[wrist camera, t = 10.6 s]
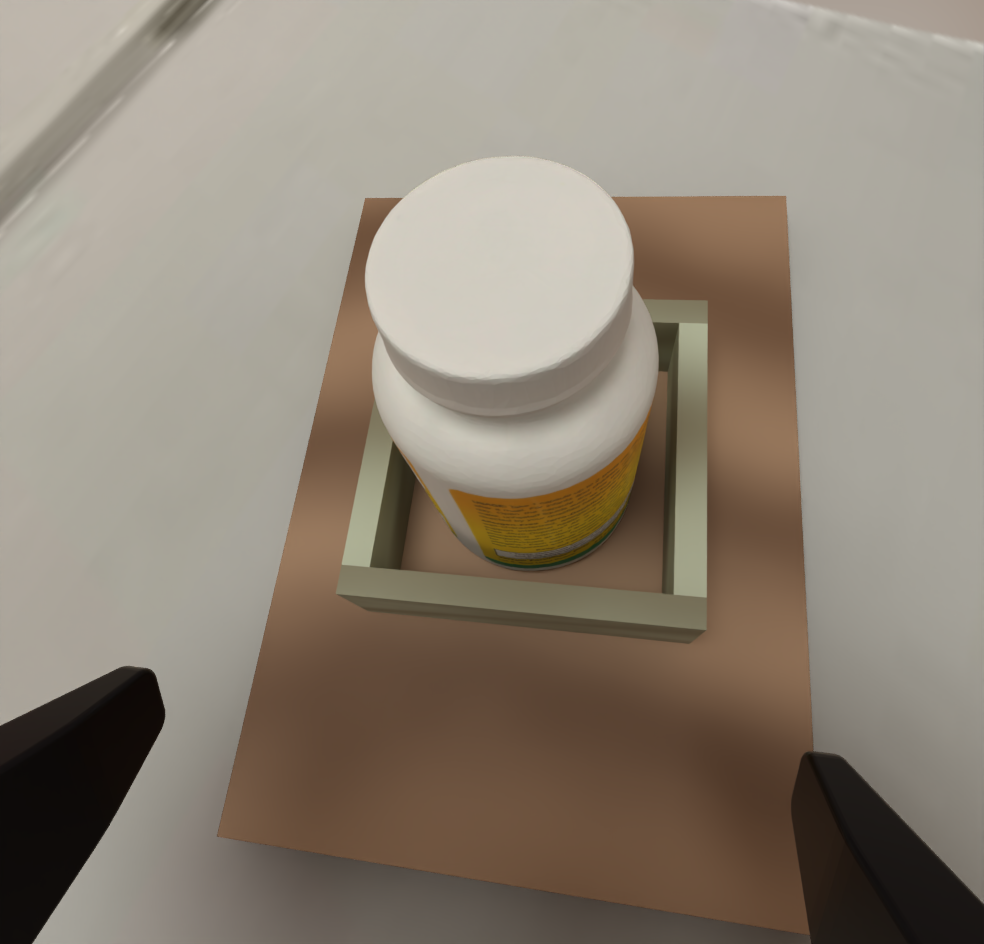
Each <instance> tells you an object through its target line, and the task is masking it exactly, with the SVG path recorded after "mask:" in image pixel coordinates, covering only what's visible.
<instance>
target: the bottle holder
mask: <svg viewBox="0 0 984 944" xmlns="http://www.w3.org/2000/svg"><path fill="white" fill-rule="evenodd" d="M611 198H612V199H613V200H614V202H615V203H616V204H617V206H618V207H619V209H620V211H621V213H622V215H623V216H624V219H625V221H626V223H627V225H628V227H629V230H630V234H631V239H632V244H633V249H634V274H633V286H634V288H635V289H636V290H637V292H638V293H639V295H640V297H641V298H642V300H643V302H644V304H645V306H646V307H647V310H648V312H649V314H650V316H651V319H652V323H653V326H654V329H655V333H656V337H657V345H658V354H659V368H658V378H657V385H656V390H655V395H654V399H653V403H652V407H651V411H650V415H649V419H648V423H647V427H646V432H645V436H644V441H643V445H642V449H641V453H640V458H639V462H638V466H637V470H636V474H635V479H634V483H633V486H632V490H631V494H630V498H629V501H628V504H627V507H626V510H625V512H624V515H623V517H622V519H621V521H620V522H619V524H618V525H617V527H616V528H615V530H614V531H613V533H612V534H611V535H610V537H609V538H608V539H607V540H606V541H605V542H604V543H603V544H602V545H601V546H599V547H598V548H597V549H596V550H595V551H593V552H592V553H590V554H589V555H587V556H586V557H584V558H582V559H580V560H578V561H576V562H573V563H571V564H569V565H565V566H562V567H558V568H553V569H549V570H536V571H522V570H512V569H508V568H504V567H500V566H498V565H495V564H493V563H491V562H488V561H486V560H484V559H482V558H480V557H479V556H477V555H476V554H474V553H473V552H471V551H470V550H469V549H468V548H467V547H465V546H464V545H463V544H462V543H461V542H460V541H459V540H458V539H457V537H456V536H455V535H454V534H453V533H452V531H451V530H450V529H449V527H448V526H447V524H446V523H445V521H444V520H443V518H442V516H441V515H440V513H439V512H438V510H437V509H436V507H435V505H434V504H433V502H432V500H431V499H430V497H429V496H428V494H427V493H426V491H425V489H424V488H423V486H422V485H421V483H420V482H419V480H418V479H417V477H416V476H415V474H414V472H413V471H412V469H411V468H410V466H409V465H408V463H407V462H406V460H405V459H404V457H403V456H402V454H401V453H400V451H399V449H398V448H397V446H396V445H395V443H394V441H393V440H392V438H391V436H390V434H389V432H388V430H387V429H386V427H385V425H384V423H383V421H382V419H381V416H380V413H379V411H378V408H377V404H376V401H375V396H374V391H373V384H372V358H373V350H374V345H375V341H376V337H377V334H378V329H377V327H376V325H375V323H374V321H373V319H372V316H371V312H370V309H369V306H368V301H367V295H366V289H365V269H366V263H367V259H368V255H369V251H370V248H371V245H372V242H373V239H374V237H375V235H376V233H377V231H378V230H379V228H380V226H381V225H382V223H383V221H384V220H385V218H386V217H387V215H388V214H389V213H390V211H391V210H392V209H393V208H394V207H395V206H396V205H397V204H398V203H399V202H400V201H401V200H402V199H403V198H365V202H364V206H363V211H362V215H361V219H360V223H359V228H358V232H357V236H356V241H355V245H354V249H353V254H352V258H351V262H350V266H349V271H348V275H347V279H346V284H345V288H344V292H343V297H342V301H341V305H340V309H339V314H338V318H337V322H336V327H335V331H334V335H333V340H332V344H331V348H330V352H329V357H328V361H327V365H326V370H325V374H324V378H323V383H322V387H321V391H320V395H319V400H318V404H317V408H316V413H315V417H314V421H313V426H312V430H311V434H310V438H309V443H308V447H307V451H306V456H305V460H304V464H303V469H302V473H301V477H300V481H299V486H298V490H297V494H296V499H295V503H294V507H293V512H292V516H291V520H290V524H289V529H288V533H287V537H286V542H285V546H284V550H283V555H282V559H281V563H280V567H279V572H278V576H277V580H276V585H275V589H274V593H273V598H272V602H271V606H270V610H269V615H268V619H267V623H266V628H265V632H264V636H263V641H262V645H261V649H260V653H259V658H258V662H257V666H256V671H255V675H254V679H253V684H252V688H251V692H250V696H249V701H248V705H247V709H246V714H245V718H244V722H243V727H242V731H241V735H240V739H239V744H238V748H237V752H236V757H235V761H234V765H233V770H232V774H231V778H230V782H229V787H228V791H227V795H226V800H225V804H224V808H223V813H222V817H221V821H220V826H219V830H218V834H217V837H223V838H229V839H235V840H241V841H247V842H253V843H259V844H265V845H271V846H277V847H283V848H289V849H295V850H301V851H307V852H313V853H319V854H325V855H331V856H337V857H343V858H349V859H355V860H361V861H367V862H373V863H379V864H385V865H391V866H397V867H403V868H409V869H415V870H421V871H427V872H433V873H439V874H445V875H451V876H457V877H463V878H469V879H475V880H481V881H487V882H493V883H499V884H505V885H511V886H517V887H523V888H529V889H535V890H541V891H547V892H553V893H559V894H565V895H571V896H577V897H583V898H589V899H595V900H601V901H607V902H613V903H619V904H625V905H631V906H637V907H643V908H649V909H655V910H661V911H667V912H673V913H679V914H685V915H691V916H697V917H703V918H709V919H715V920H721V921H727V922H733V923H739V924H745V925H751V926H757V927H763V928H769V929H775V930H781V931H787V932H793V933H799V934H805V935H810V932H809V926H808V920H807V914H806V907H805V901H804V894H803V888H802V881H801V875H800V869H799V862H798V856H797V849H796V843H795V836H794V830H793V824H792V817H791V798H792V793H793V789H794V785H795V781H796V777H797V773H798V769H799V765H800V761H801V757H802V756H803V754H804V753H805V752H808V751H813V733H812V713H811V693H810V673H809V652H808V632H807V612H806V592H805V572H804V551H803V531H802V511H801V491H800V470H799V450H798V430H797V410H796V389H795V369H794V349H793V329H792V309H791V288H790V268H789V248H788V228H787V207H786V196H699V197H611Z"/></svg>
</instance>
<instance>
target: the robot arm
mask: <svg viewBox="0 0 984 944" xmlns="http://www.w3.org/2000/svg"><path fill="white" fill-rule="evenodd" d="M164 720H165V708H164V704H163V700H162V697H161V693H160V689H159V686H158V682H157V678H156V675H155V673H154V672H153V671H152V670H150V669H148V668H141V667H133V666H124V667H120V668H118V669H116V670H114V671H112V672H110V673H108V674H106V675H104V676H102V677H100V678H98V679H95V680H93V681H91V682H89V683H87V684H85V685H83V686H81V687H79V688H77V689H75V690H73V691H71V692H69V693H67V694H65V695H63V696H61V697H58V698H56V699H54V700H52V701H50V702H48V703H46V704H44V705H42V706H40V707H38V708H36V709H34V710H32V711H30V712H28V713H26V714H24V715H21V716H19V717H17V718H15V719H13V720H11V721H9V722H7V723H5V724H3V725H1V726H0V944H32V943H33V942H34V940H35V939H36V937H37V936H38V934H39V933H40V931H41V930H42V928H43V927H44V925H45V924H46V922H47V921H48V919H49V917H50V916H51V914H52V913H53V911H54V910H55V908H56V907H57V905H58V904H59V902H60V901H61V899H62V898H63V896H64V895H65V893H66V892H67V890H68V889H69V887H70V886H71V884H72V883H73V881H74V879H75V878H76V876H77V875H78V873H79V872H80V870H81V869H82V867H83V866H84V864H85V863H86V861H87V860H88V858H89V857H90V855H91V854H92V852H93V851H94V849H95V848H96V846H97V844H98V843H99V841H100V840H101V838H102V836H103V835H104V833H105V832H106V830H107V828H108V827H109V825H110V823H111V821H112V820H113V818H114V816H115V815H116V813H117V811H118V809H119V807H120V805H121V804H122V802H123V800H124V798H125V796H126V794H127V792H128V791H129V789H130V787H131V785H132V783H133V781H134V780H135V778H136V776H137V774H138V772H139V770H140V768H141V767H142V765H143V763H144V761H145V759H146V757H147V755H148V754H149V752H150V750H151V748H152V746H153V744H154V742H155V741H156V739H157V737H158V735H159V733H160V731H161V729H162V727H163V724H164ZM791 817H792V824H793V830H794V836H795V843H796V849H797V856H798V862H799V869H800V875H801V881H802V888H803V894H804V901H805V907H806V914H807V920H808V926H809V932H810V938H811V944H984V904H983V903H982V902H981V901H980V900H979V898H978V897H977V896H976V895H975V894H974V893H973V892H972V891H971V890H970V889H969V888H968V887H967V886H966V885H965V884H964V883H963V882H962V881H961V880H960V879H959V878H958V877H957V876H956V875H955V874H954V872H953V871H952V870H951V869H950V868H949V867H948V866H947V865H946V864H945V863H944V862H943V861H942V860H941V859H940V858H939V857H938V856H937V855H936V854H935V853H934V852H933V851H932V850H931V849H930V847H929V846H928V845H927V844H926V843H925V842H924V841H923V840H922V839H921V838H920V837H919V836H918V835H917V834H916V833H915V832H914V831H913V830H912V829H911V828H910V827H909V826H908V825H907V824H906V823H905V821H904V820H903V819H902V818H901V817H900V816H899V815H898V814H897V813H896V812H895V811H894V810H893V809H892V808H891V807H890V806H889V805H888V804H887V803H886V802H885V801H884V800H883V799H882V798H881V797H880V795H879V794H878V793H877V792H876V791H875V790H874V789H873V788H872V787H871V786H870V785H869V784H868V783H867V782H866V781H865V780H864V779H863V778H862V777H861V776H860V775H859V774H858V773H857V772H856V771H855V769H854V768H853V767H852V766H851V765H850V764H849V763H848V762H847V761H846V760H845V759H844V758H842V757H841V756H839V755H836V754H830V753H822V752H814V751H808V752H805V753H804V754H803V756H802V757H801V761H800V765H799V769H798V773H797V777H796V781H795V785H794V789H793V793H792V798H791Z"/></svg>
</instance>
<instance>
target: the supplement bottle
mask: <svg viewBox="0 0 984 944" xmlns="http://www.w3.org/2000/svg"><path fill="white" fill-rule="evenodd" d="M633 274H634V249H633V244H632V239H631V234H630V230H629V227H628V225H627V223H626V221H625V219H624V216H623V215H622V213H621V211H620V209H619V207H618V206H617V204H616V203H615V202H614V200H613V199H612V198H611V197H610V196H609V195H608V194H607V193H606V192H605V191H604V190H603V189H602V188H601V187H600V186H599V185H598V184H597V183H595V182H594V181H593V180H592V179H590V178H589V177H587V176H586V175H584V174H582V173H580V172H579V171H577V170H574V169H572V168H570V167H568V166H566V165H563V164H560V163H556V162H554V161H550V160H545V159H541V158H536V157H527V156H504V157H490V158H483V159H478V160H474V161H469V162H466V163H463V164H460V165H457V166H455V167H452V168H450V169H447V170H445V171H442V172H440V173H438V174H437V175H435V176H434V177H432V178H430V179H428V180H426V181H425V182H423V183H422V184H421V185H419V186H418V187H416V188H415V189H414V190H412V191H411V192H410V193H408V194H407V195H406V196H405V197H404V198H403V199H402V200H401V201H400V202H399V203H398V204H397V205H396V206H395V207H394V208H393V209H392V210H391V211H390V213H389V214H388V215H387V217H386V218H385V220H384V221H383V223H382V225H381V226H380V228H379V230H378V231H377V233H376V235H375V237H374V239H373V242H372V245H371V248H370V251H369V255H368V259H367V263H366V269H365V289H366V295H367V301H368V306H369V309H370V312H371V316H372V319H373V321H374V323H375V325H376V327H377V329H378V334H377V337H376V341H375V345H374V350H373V358H372V384H373V391H374V396H375V401H376V404H377V408H378V411H379V413H380V416H381V419H382V421H383V423H384V425H385V427H386V429H387V430H388V432H389V434H390V436H391V438H392V440H393V441H394V443H395V445H396V446H397V448H398V449H399V451H400V453H401V454H402V456H403V457H404V459H405V460H406V462H407V463H408V465H409V466H410V468H411V469H412V471H413V472H414V474H415V476H416V477H417V479H418V480H419V482H420V483H421V485H422V486H423V488H424V489H425V491H426V493H427V494H428V496H429V497H430V499H431V500H432V502H433V504H434V505H435V507H436V509H437V510H438V512H439V513H440V515H441V516H442V518H443V520H444V521H445V523H446V524H447V526H448V527H449V529H450V530H451V531H452V533H453V534H454V535H455V536H456V537H457V539H458V540H459V541H460V542H461V543H462V544H463V545H464V546H465V547H467V548H468V549H469V550H470V551H471V552H473V553H474V554H476V555H477V556H479V557H480V558H482V559H484V560H486V561H488V562H491V563H493V564H495V565H498V566H500V567H504V568H508V569H512V570H522V571H536V570H549V569H553V568H558V567H562V566H565V565H569V564H571V563H573V562H576V561H578V560H580V559H582V558H584V557H586V556H587V555H589V554H590V553H592V552H593V551H595V550H596V549H597V548H598V547H599V546H601V545H602V544H603V543H604V542H605V541H606V540H607V539H608V538H609V537H610V535H611V534H612V533H613V531H614V530H615V528H616V527H617V525H618V524H619V522H620V521H621V519H622V517H623V515H624V512H625V510H626V507H627V504H628V501H629V498H630V494H631V490H632V486H633V483H634V479H635V474H636V470H637V466H638V462H639V458H640V453H641V449H642V445H643V441H644V436H645V432H646V427H647V423H648V419H649V415H650V411H651V407H652V403H653V399H654V395H655V390H656V385H657V378H658V368H659V354H658V345H657V337H656V333H655V329H654V326H653V323H652V319H651V316H650V314H649V312H648V310H647V307H646V306H645V304H644V302H643V300H642V298H641V297H640V295H639V293H638V292H637V290H636V289H635V288H634V286H633Z"/></svg>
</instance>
